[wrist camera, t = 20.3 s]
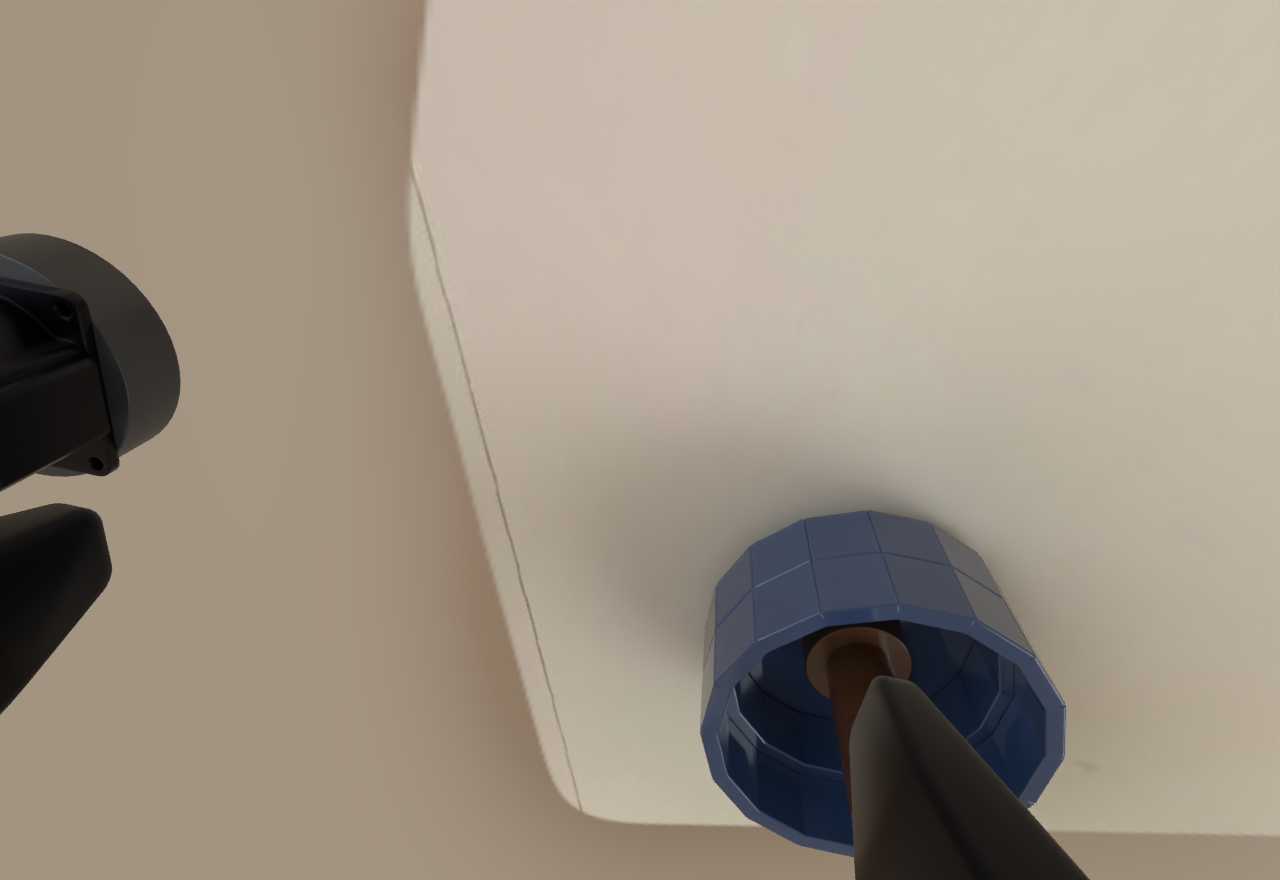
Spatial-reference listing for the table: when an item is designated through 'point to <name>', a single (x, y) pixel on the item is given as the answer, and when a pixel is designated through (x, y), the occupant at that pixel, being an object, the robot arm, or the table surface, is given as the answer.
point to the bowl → (850, 594)
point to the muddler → (853, 671)
